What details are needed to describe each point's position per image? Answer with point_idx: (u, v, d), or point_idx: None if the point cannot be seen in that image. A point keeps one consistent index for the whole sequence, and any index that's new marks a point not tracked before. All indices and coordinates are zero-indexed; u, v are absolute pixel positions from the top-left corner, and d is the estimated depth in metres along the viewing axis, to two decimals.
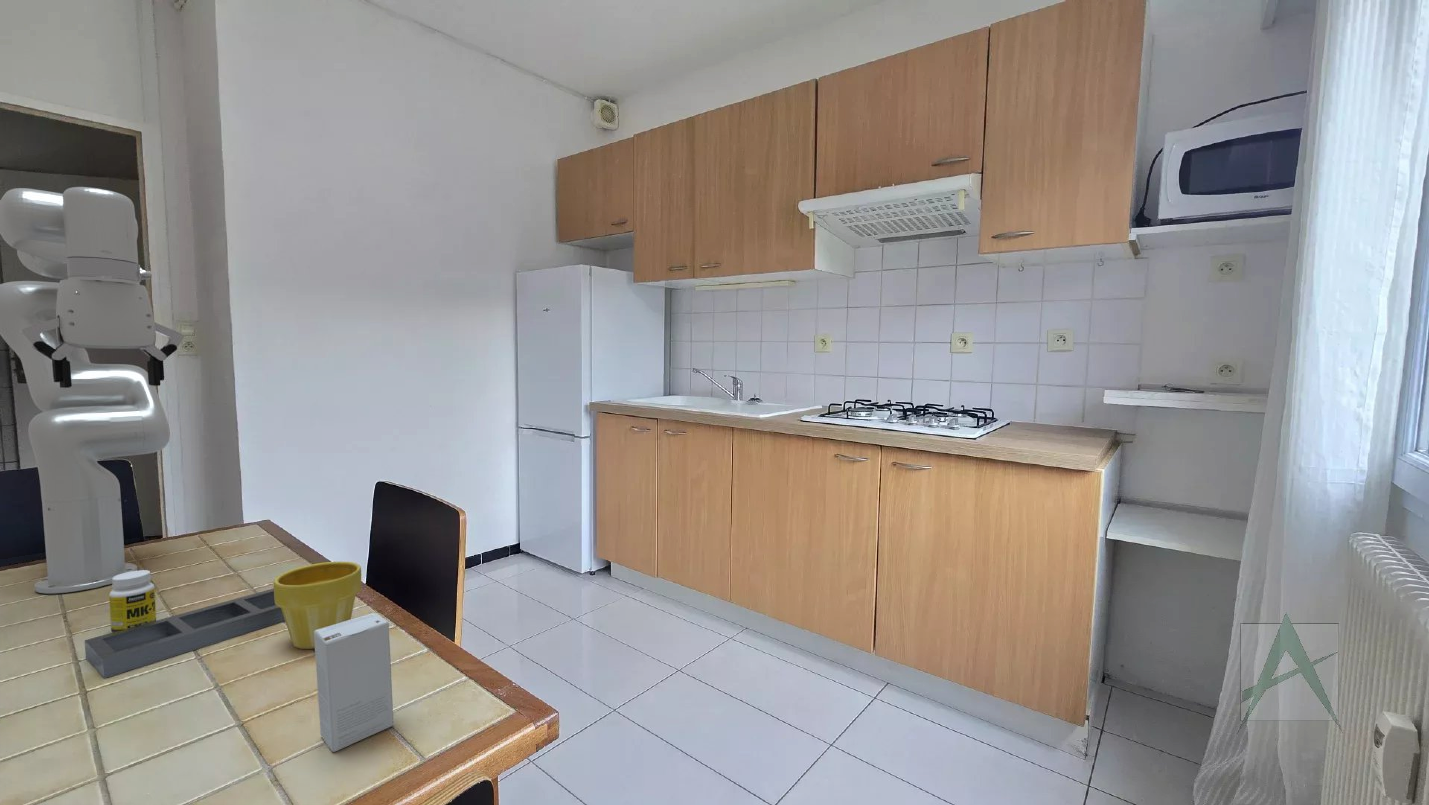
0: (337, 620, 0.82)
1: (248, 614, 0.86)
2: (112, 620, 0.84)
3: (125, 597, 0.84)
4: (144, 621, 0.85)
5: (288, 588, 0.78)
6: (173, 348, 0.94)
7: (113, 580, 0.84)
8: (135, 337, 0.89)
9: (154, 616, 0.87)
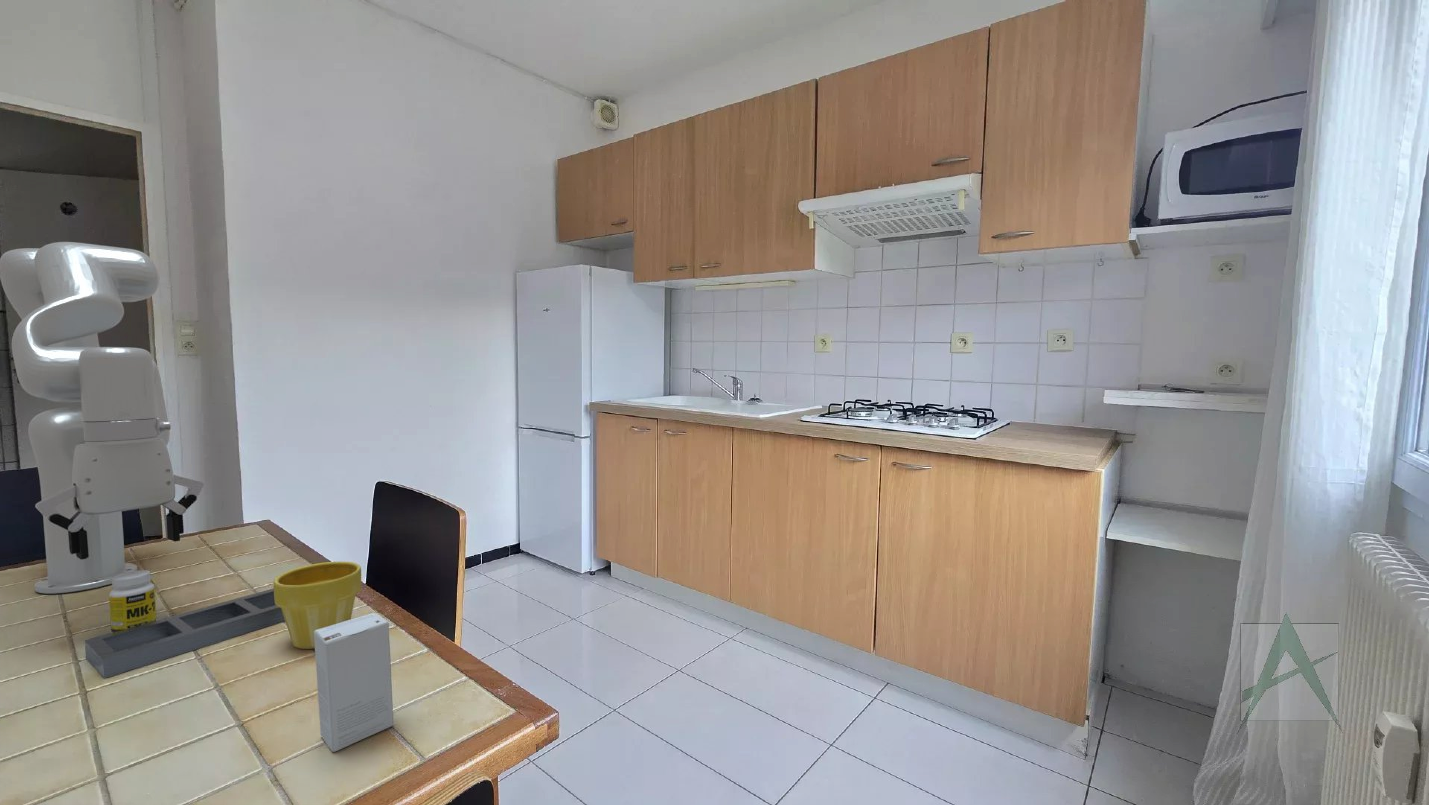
0: (337, 620, 0.82)
1: (248, 614, 0.86)
2: (112, 620, 0.84)
3: (125, 597, 0.83)
4: (144, 621, 0.85)
5: (288, 588, 0.78)
6: (193, 499, 0.90)
7: (113, 580, 0.84)
8: (154, 496, 0.85)
9: (154, 616, 0.87)
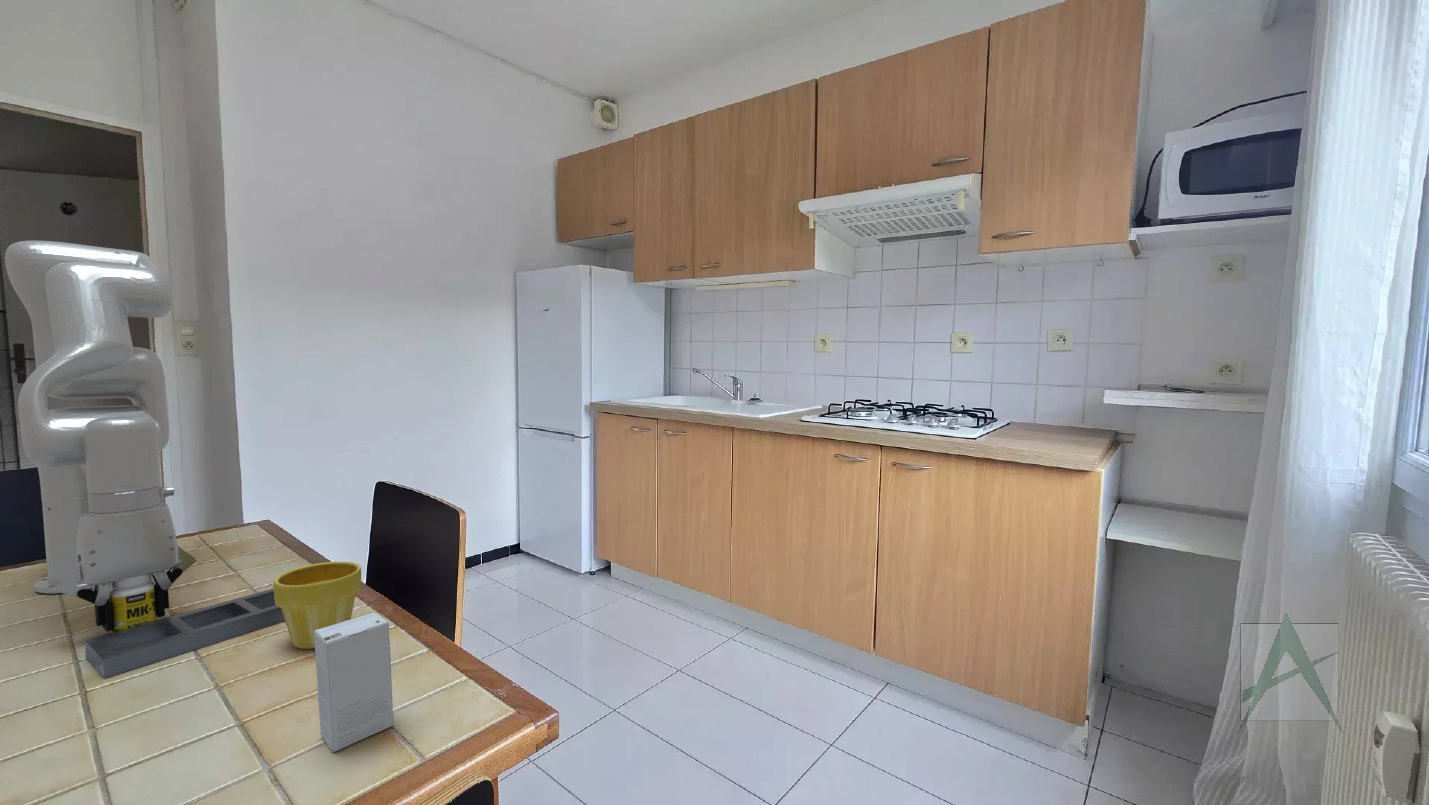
0: (337, 620, 0.82)
1: (248, 614, 0.86)
2: None
3: (125, 597, 0.83)
4: (144, 621, 0.85)
5: (288, 588, 0.78)
6: (178, 573, 0.89)
7: None
8: (158, 563, 0.86)
9: (154, 616, 0.87)
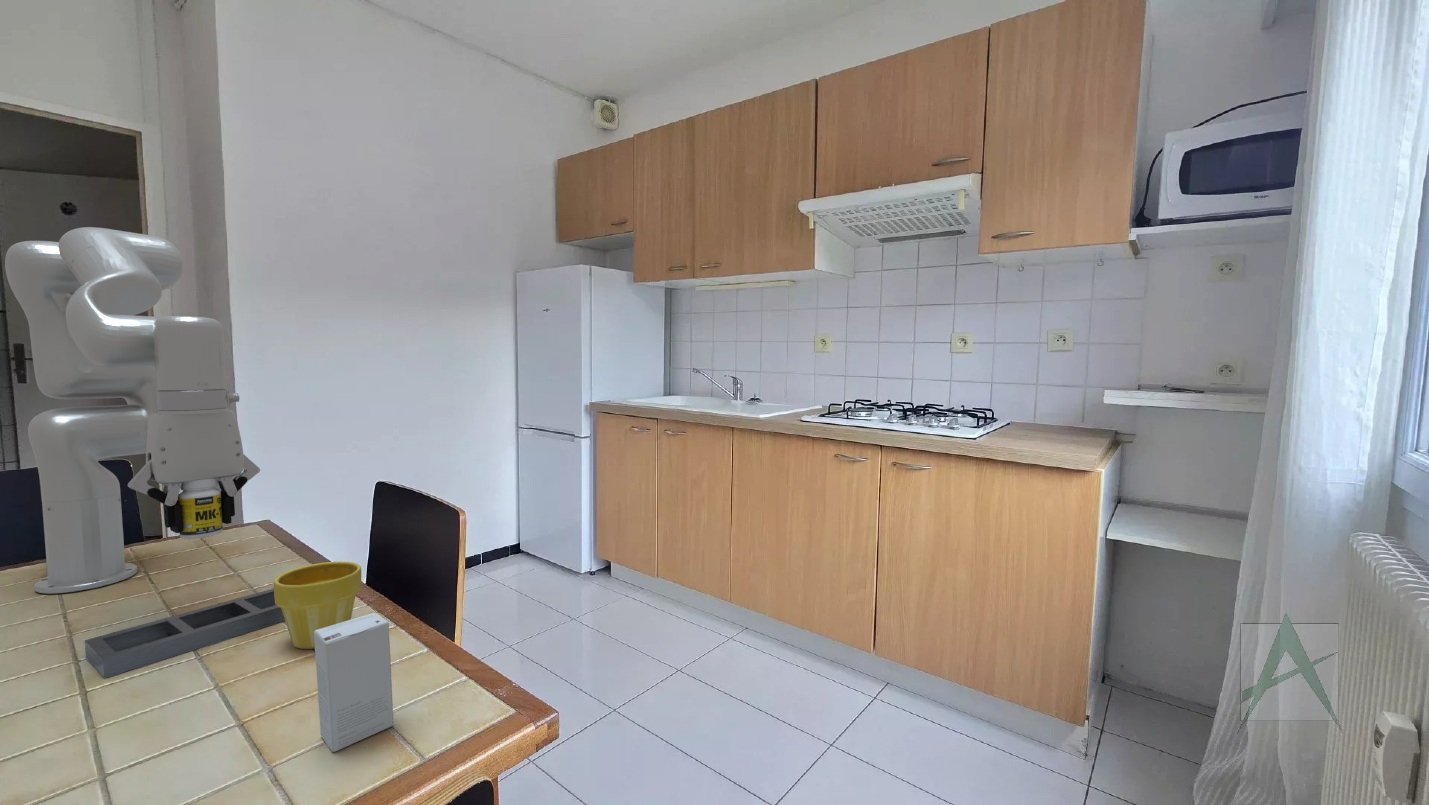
0: (337, 620, 0.82)
1: (248, 614, 0.86)
2: None
3: (194, 499, 0.82)
4: (212, 525, 0.84)
5: (288, 588, 0.78)
6: (244, 481, 0.88)
7: None
8: (225, 467, 0.85)
9: (221, 522, 0.85)
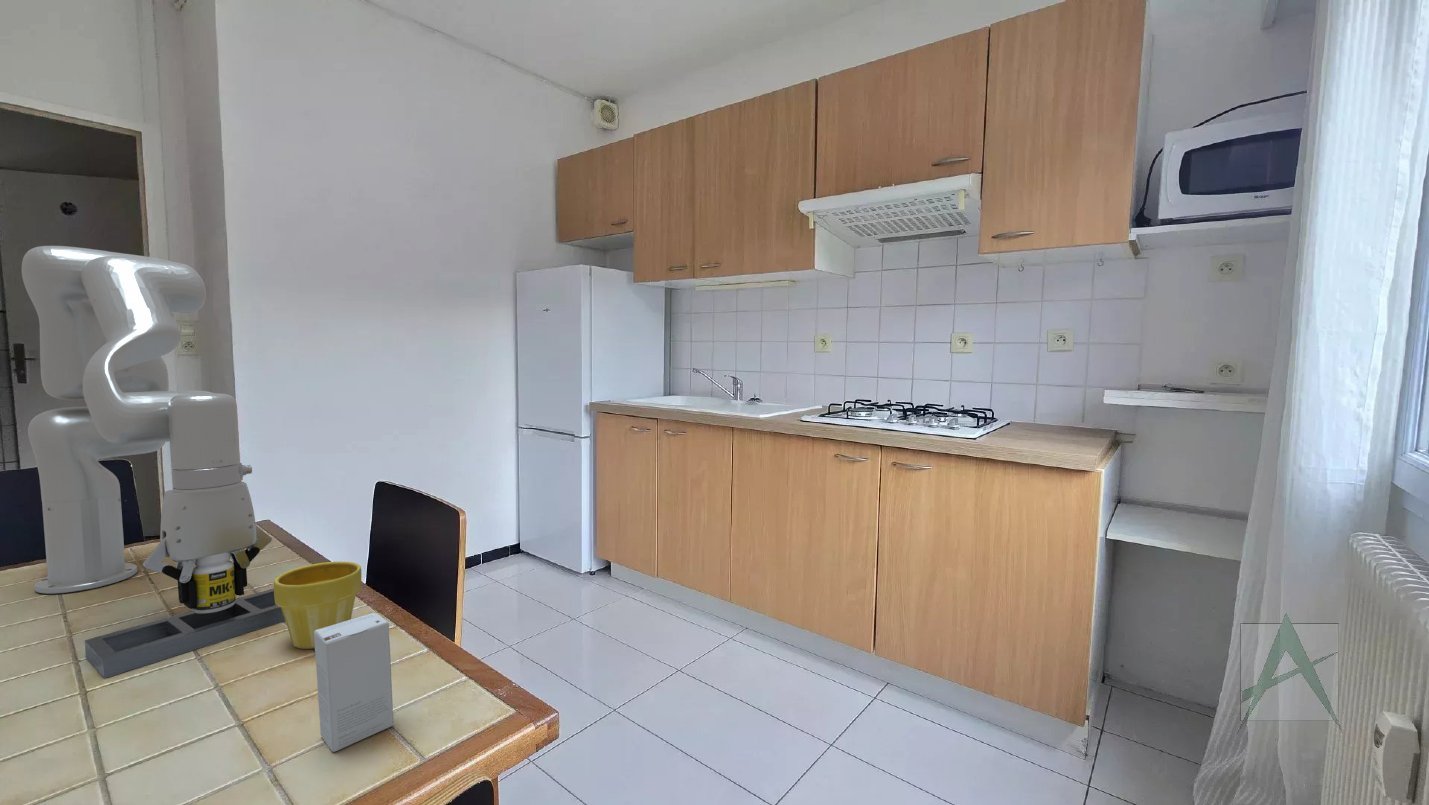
0: (337, 620, 0.82)
1: (248, 614, 0.86)
2: None
3: (208, 574, 0.83)
4: (226, 599, 0.85)
5: (288, 588, 0.78)
6: (256, 552, 0.89)
7: None
8: (238, 540, 0.86)
9: (234, 594, 0.86)
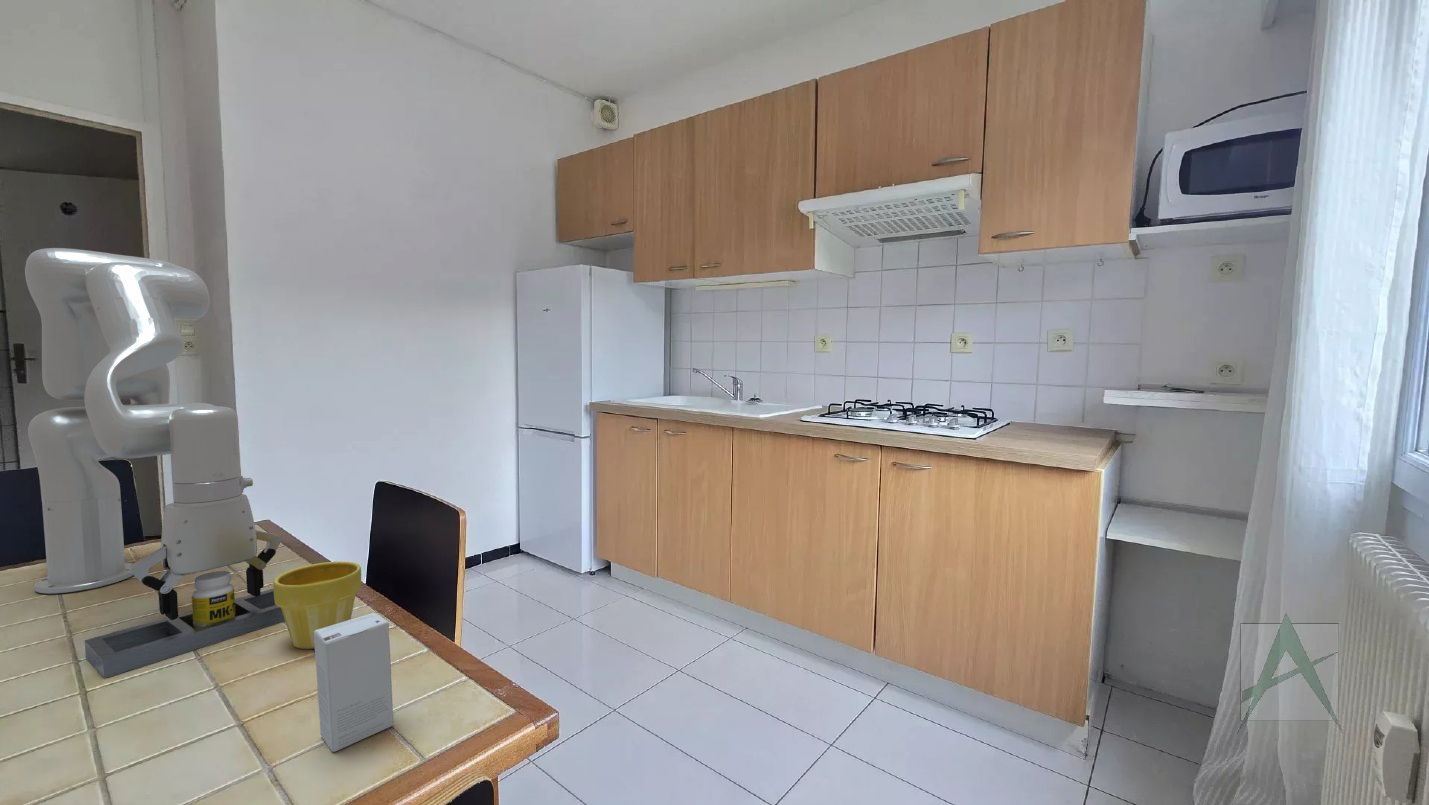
0: (337, 620, 0.82)
1: (248, 614, 0.86)
2: (195, 621, 0.83)
3: (208, 598, 0.83)
4: None
5: (288, 588, 0.78)
6: (272, 553, 0.91)
7: (196, 581, 0.83)
8: (238, 553, 0.86)
9: None
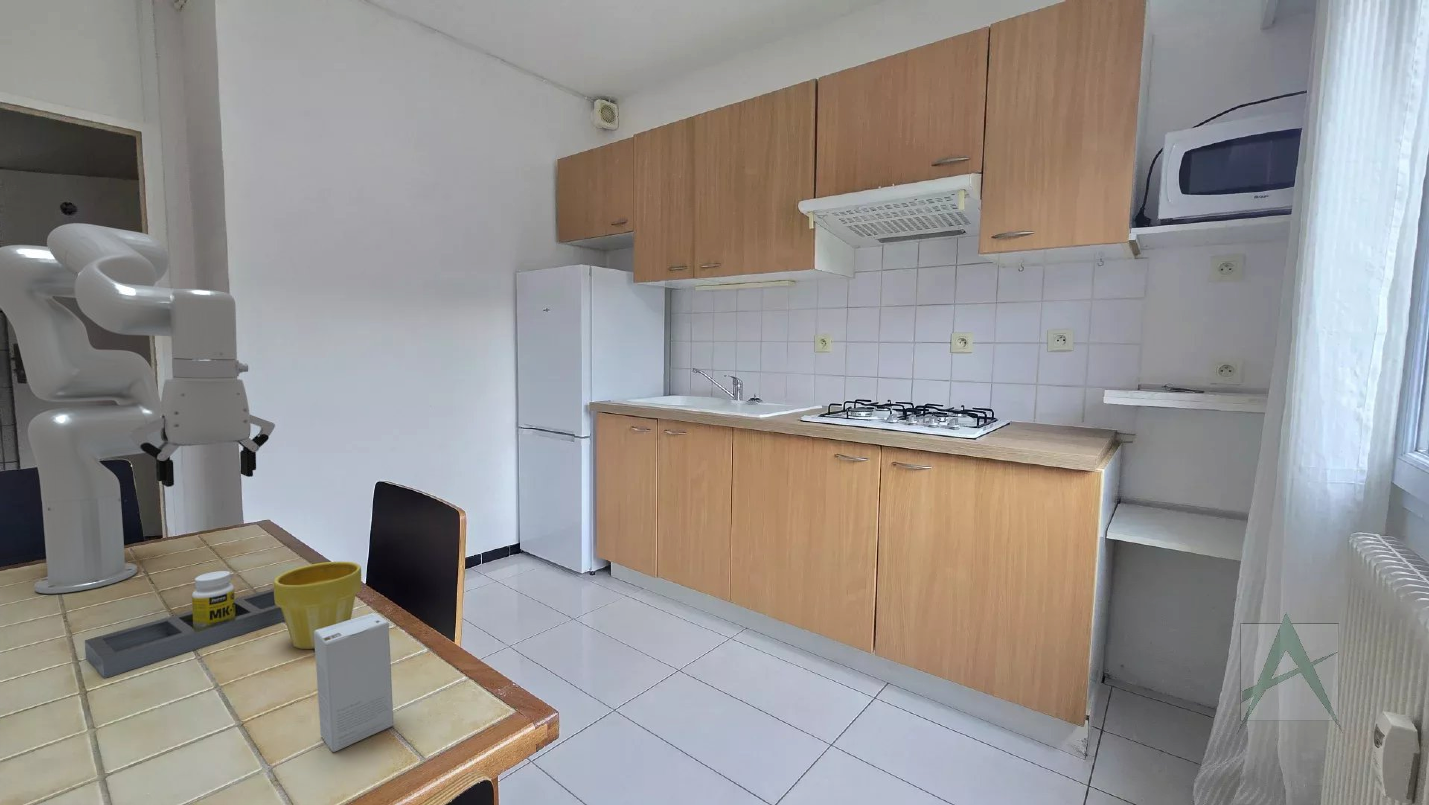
0: (337, 620, 0.82)
1: (248, 614, 0.86)
2: (195, 621, 0.83)
3: (208, 598, 0.83)
4: None
5: (288, 588, 0.78)
6: (265, 438, 0.95)
7: (196, 581, 0.83)
8: (233, 432, 0.91)
9: None
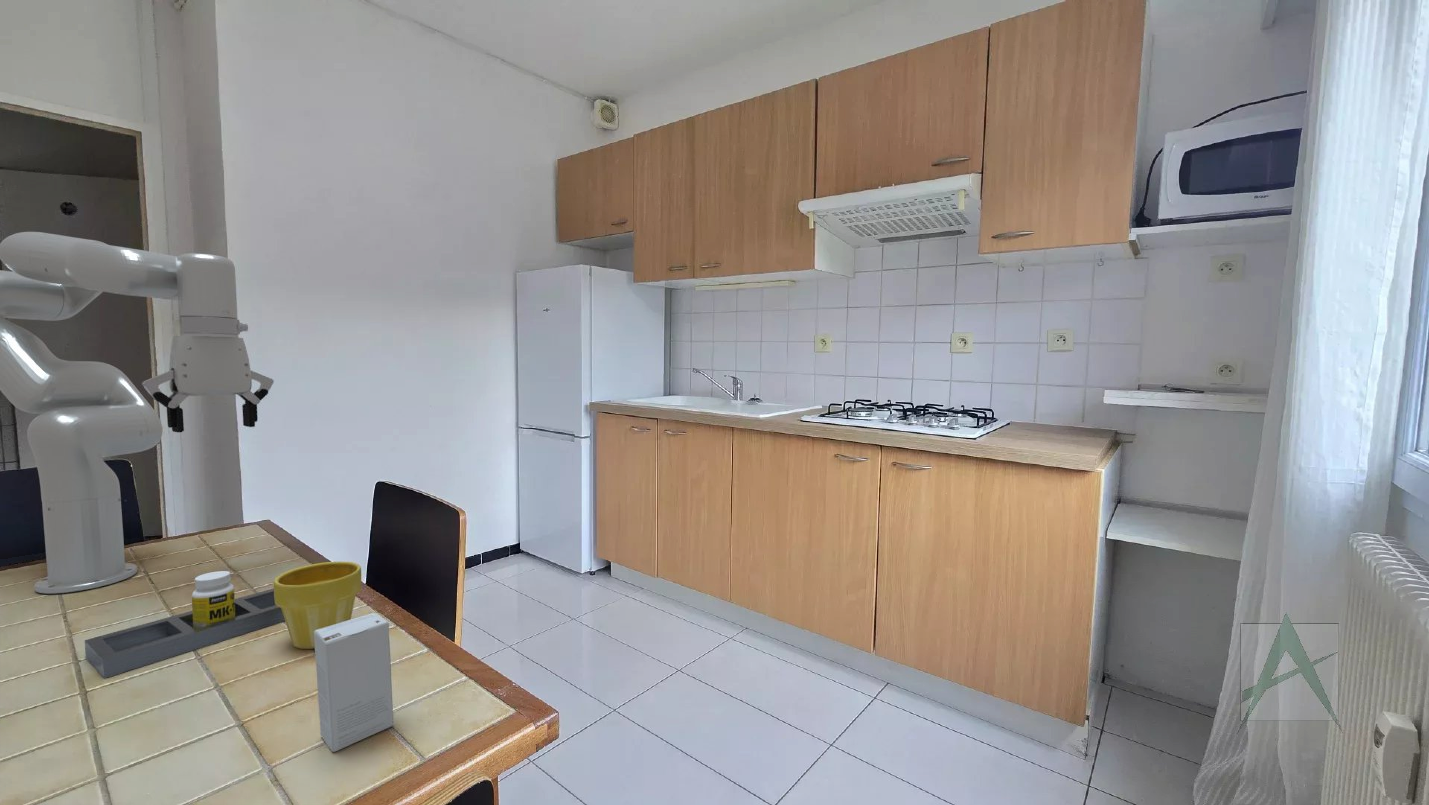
0: (337, 620, 0.82)
1: (248, 614, 0.86)
2: (195, 621, 0.83)
3: (208, 598, 0.83)
4: None
5: (288, 588, 0.78)
6: (265, 392, 1.04)
7: (196, 581, 0.83)
8: (235, 385, 1.00)
9: None
